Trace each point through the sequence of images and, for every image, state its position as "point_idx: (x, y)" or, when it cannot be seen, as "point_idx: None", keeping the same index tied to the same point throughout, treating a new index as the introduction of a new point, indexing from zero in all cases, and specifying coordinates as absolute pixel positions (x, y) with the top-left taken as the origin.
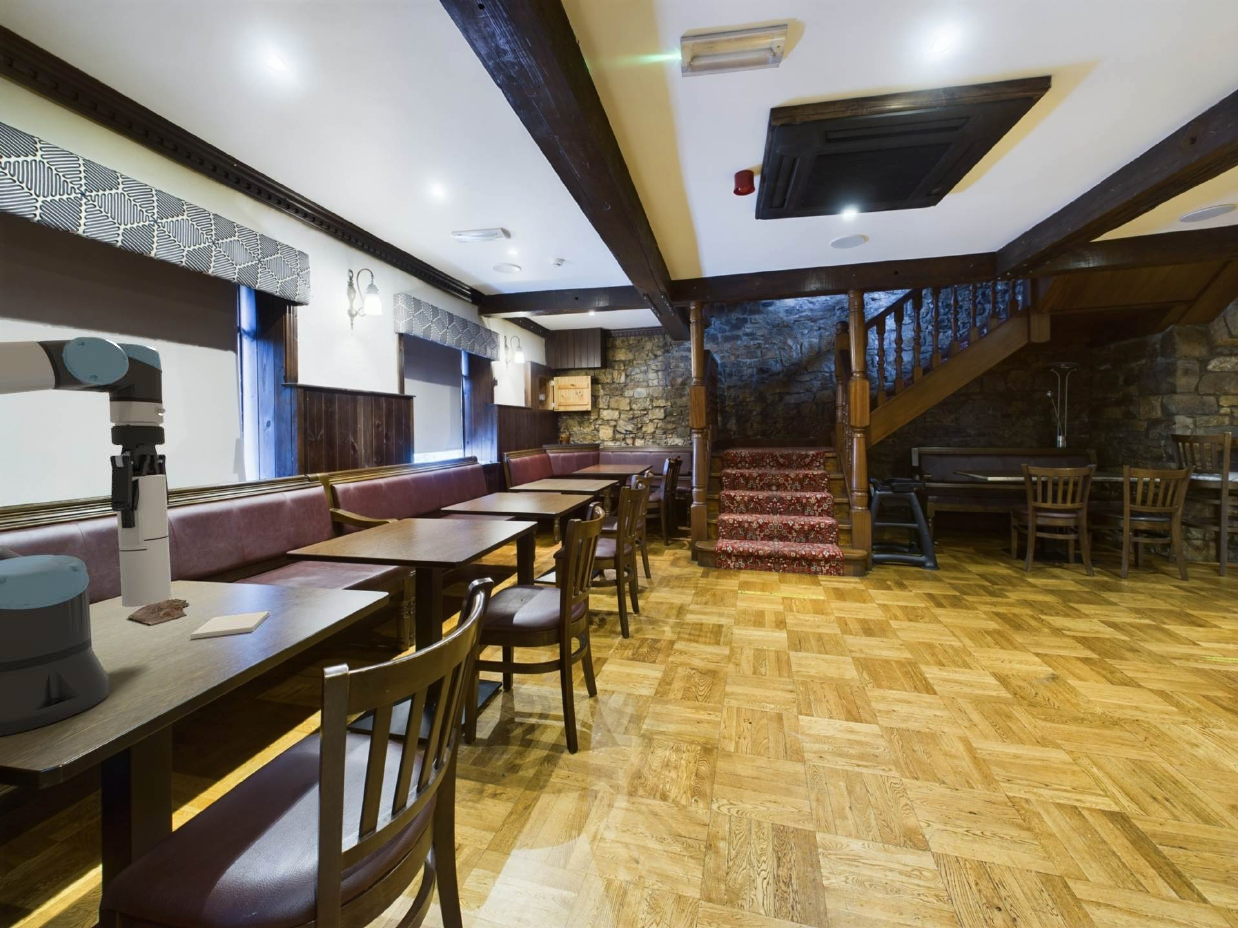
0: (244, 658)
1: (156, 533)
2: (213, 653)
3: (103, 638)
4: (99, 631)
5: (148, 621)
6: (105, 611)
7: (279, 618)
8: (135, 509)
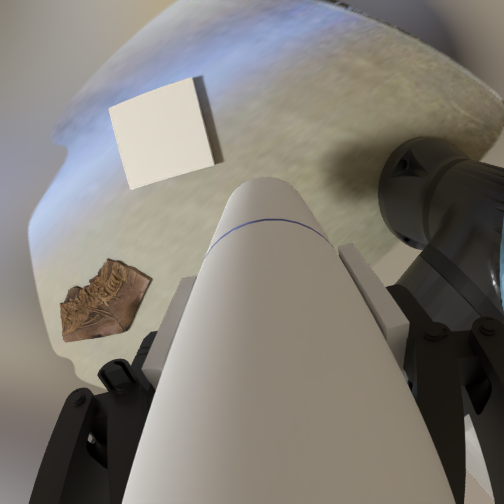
0: (317, 27)
1: (309, 233)
2: (290, 81)
3: None
4: None
5: (137, 293)
6: None
7: (131, 77)
8: (428, 326)
